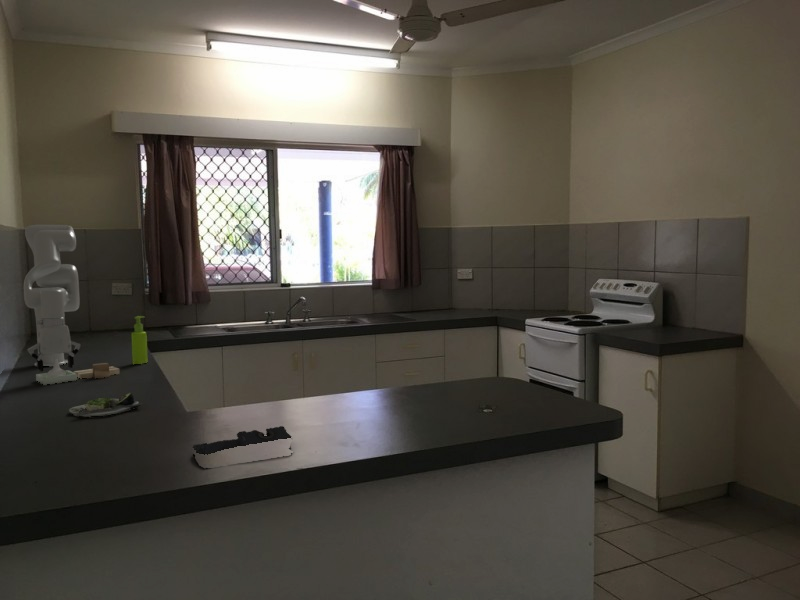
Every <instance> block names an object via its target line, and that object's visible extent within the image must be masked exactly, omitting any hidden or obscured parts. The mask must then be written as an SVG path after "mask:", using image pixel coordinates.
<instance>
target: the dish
mask: <svg viewBox="0 0 800 600" xmlns="http://www.w3.org/2000/svg"><path fill="white" fill-rule="evenodd" d="M64 371H65V372H66V375H63V376H55V377H47V373H48V372H43V373H37V374H35V380H36V382H37V381H38V382H37V383H39V382H40V383H39V384H41V385H42V384H43V385H42V386H48V385H47V384H50V385H56V384H55V383H57V384H63V383H62V382H65V383H69V382H68V381H72V382H77V381H78V378H77V374H76V373H74V371H71V370H69V369H68V370H64ZM76 380H77V381H76Z"/></svg>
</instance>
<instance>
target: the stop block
mask: <svg viewBox="0 0 800 600" xmlns="http://www.w3.org/2000/svg"><path fill="white" fill-rule="evenodd" d="M109 367H110V364H109V363H108V362H100V363H94V364H92V369H93V378H92V379H96V378H98V379H103V378H104V377H105V378H110V376H111V375H110V374H109ZM105 378H104V379H105ZM96 380H97V379H96Z"/></svg>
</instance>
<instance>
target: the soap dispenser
mask: <svg viewBox="0 0 800 600" xmlns="http://www.w3.org/2000/svg"><path fill="white" fill-rule="evenodd" d="M133 318H134V319H135V324H134V325H133V328H134V332H131V356H132V365H134V364H141V365H143V364H142V363H147V362H148V363H149V359H148V338H147V332H146V331H144V324H143V323H141V319H144V318H146V317H145V315H137V316H134V317H133ZM148 363H147V364H148Z"/></svg>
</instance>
